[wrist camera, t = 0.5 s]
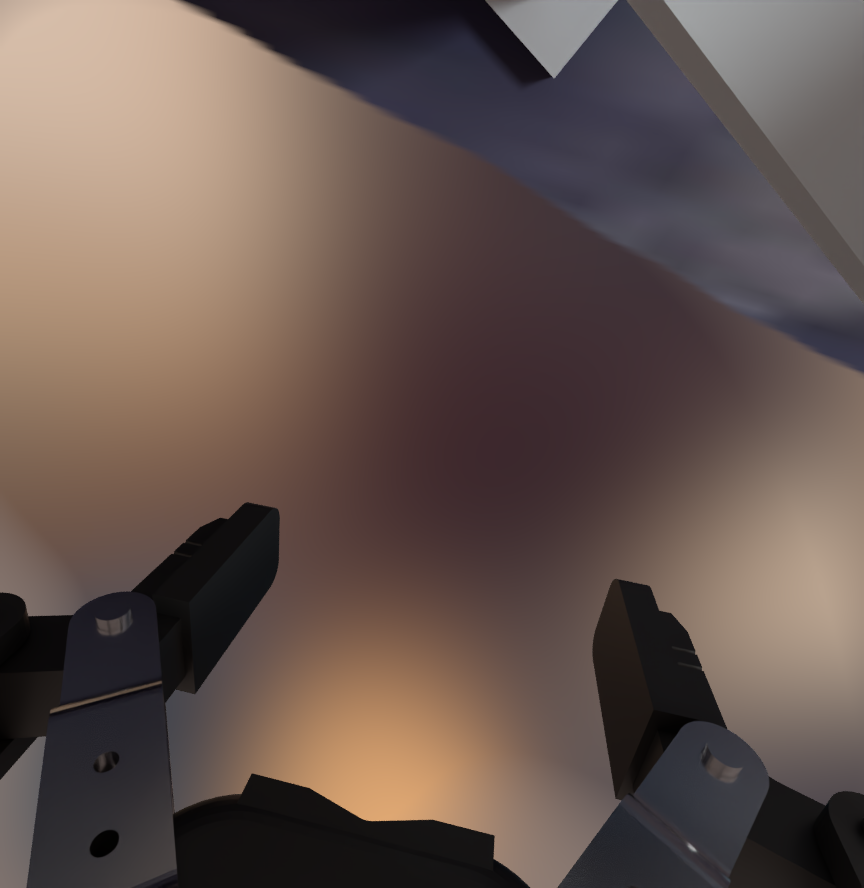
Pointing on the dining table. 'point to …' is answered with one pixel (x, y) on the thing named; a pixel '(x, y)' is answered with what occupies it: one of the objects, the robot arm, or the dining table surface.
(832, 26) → the white plinth column
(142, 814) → the robot arm
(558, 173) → the dining table surface
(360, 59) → the dining table surface
